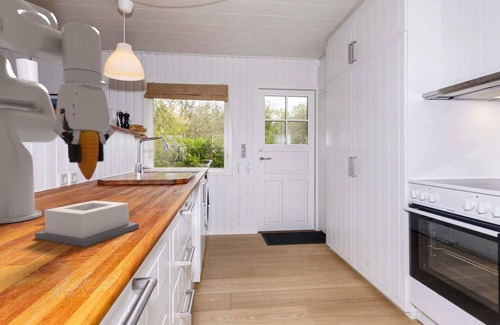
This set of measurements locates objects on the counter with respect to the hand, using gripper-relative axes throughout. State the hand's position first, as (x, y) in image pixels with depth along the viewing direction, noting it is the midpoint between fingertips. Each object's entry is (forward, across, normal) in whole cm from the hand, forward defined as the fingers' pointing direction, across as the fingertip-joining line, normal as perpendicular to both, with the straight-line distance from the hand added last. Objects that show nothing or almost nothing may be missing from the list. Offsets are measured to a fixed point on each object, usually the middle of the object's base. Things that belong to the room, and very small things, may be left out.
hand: (87, 161), depth 63 cm
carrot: (+5, 0, 0) cm, 5 cm away
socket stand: (+17, 0, 0) cm, 17 cm away
